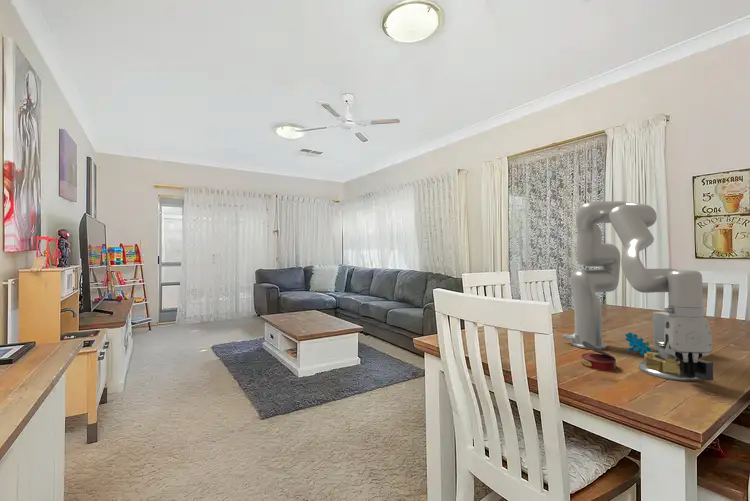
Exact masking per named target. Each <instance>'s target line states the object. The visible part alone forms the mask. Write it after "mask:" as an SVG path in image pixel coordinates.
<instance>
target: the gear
mask: <svg viewBox="0 0 750 501" xmlns="http://www.w3.org/2000/svg"><path fill="white" fill-rule="evenodd" d="M638 337H639V335H638V334H636V333H634V334H633V333H632V332H628V333H626V334H625V341H627V342H628V343H627V344H628V346H630V348H629V349H627V353H631V352H632V351H635V353H636V352H639V354H640V355H641V356H643V357H644V354H645V353H647V351H648V352H653V348H651V347H649V345H650V342H648V341H646V342H644V341H645V339H644V338H643V337H639V338H638Z"/></svg>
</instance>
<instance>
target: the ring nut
mask: <svg viewBox="0 0 750 501" xmlns="http://www.w3.org/2000/svg"><path fill="white" fill-rule="evenodd" d="M643 359H644V361H643V362H644V363H645V366H647V367H649V368H652V369H655V370H658V371H663V372H669V373H677V374H680V373H681V370H680V360H679V359H678V361H676V359H674V358H666V357H665V360H662V359H659V358H658V352H655V351H654V352H653V351H651V352H648V351H647V353H645V354H644V355H643ZM695 368H696V372H695V376H693V377H697V378H700V380H703V381H707V382H708V381H714V363H713V361H712V362H711V361H708V360H704V359H701V358H699V359H698V362H697V363H695ZM681 374H682V373H681Z"/></svg>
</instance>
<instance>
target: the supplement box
mask: <svg viewBox="0 0 750 501" xmlns="http://www.w3.org/2000/svg"><path fill="white" fill-rule="evenodd" d="M667 316H669V314H668V313H666V312H665V311H653V312H652V331H653V335H652V336H653V350H654V351H657V352H658V344H656V340H664V327H665V321H666V317H667Z"/></svg>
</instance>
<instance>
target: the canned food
mask: <svg viewBox="0 0 750 501" xmlns="http://www.w3.org/2000/svg"><path fill="white" fill-rule="evenodd" d="M582 344H583V345H584V346H585V347H586V348H588V349H587V350H590V351H593V353H590V352H588V353H587V352H586V353H583V354H581V365H582V366H583V367H585V368H588V369H592V370H596V371H603V370H604V371H603V372H605V371H607V372H611V371H615V370H617V362H616V357H614V356H613V355H611V354H609V353H607V352H605V351H604V350H603V349H598V348H597V347H595V346H593V345H591V344H590V343H588V342H585V341H583V342H582ZM594 352H595V353H594Z"/></svg>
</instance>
